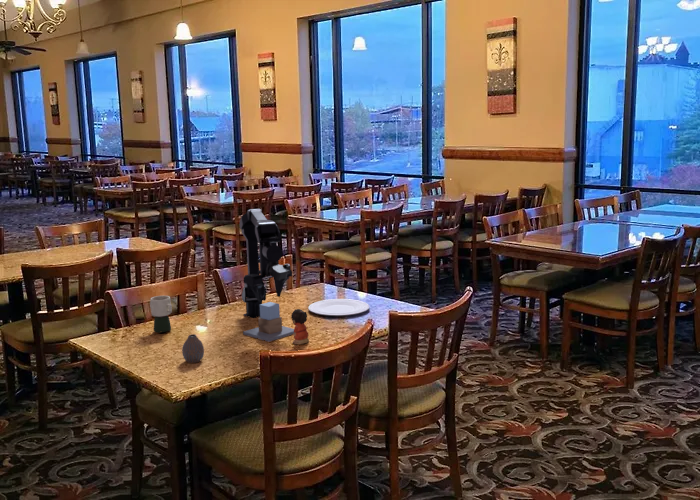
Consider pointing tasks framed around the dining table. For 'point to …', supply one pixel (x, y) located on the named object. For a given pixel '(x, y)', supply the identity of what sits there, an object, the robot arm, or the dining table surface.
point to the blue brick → (269, 311)
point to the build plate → (269, 337)
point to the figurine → (300, 326)
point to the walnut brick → (270, 325)
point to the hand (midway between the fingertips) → (269, 299)
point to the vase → (193, 349)
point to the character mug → (161, 313)
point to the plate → (338, 307)
